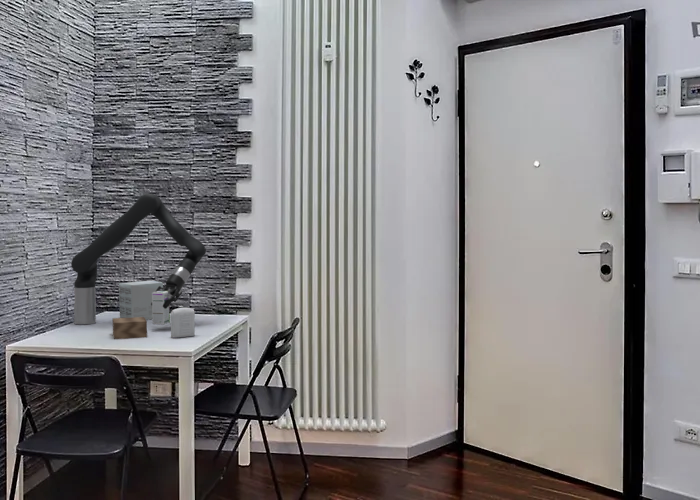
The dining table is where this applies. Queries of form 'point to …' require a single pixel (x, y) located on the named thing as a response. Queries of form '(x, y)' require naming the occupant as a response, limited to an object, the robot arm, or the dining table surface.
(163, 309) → the syrup box
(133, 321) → the walnut block
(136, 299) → the supplement box
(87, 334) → the dining table surface
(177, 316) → the photo printer
